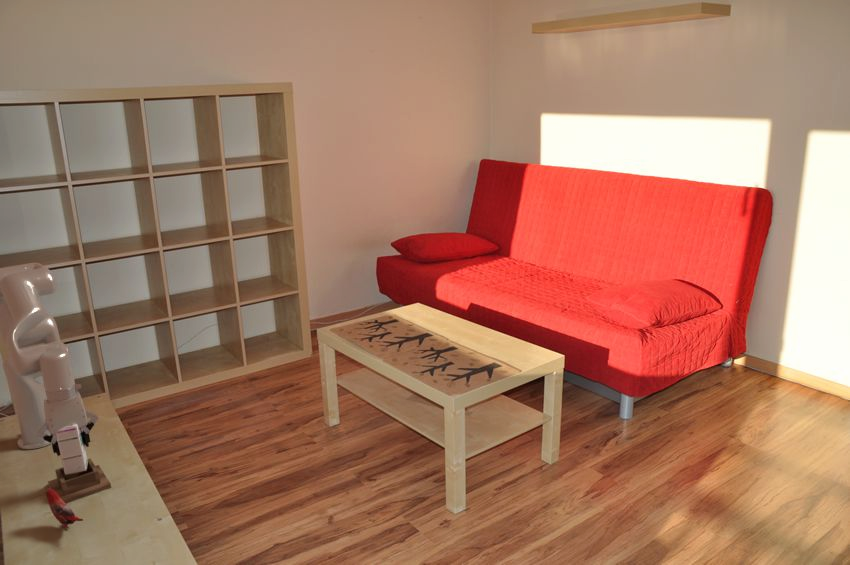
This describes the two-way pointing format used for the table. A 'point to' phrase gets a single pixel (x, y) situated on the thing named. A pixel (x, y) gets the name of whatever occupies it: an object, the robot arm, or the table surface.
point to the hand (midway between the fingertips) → (72, 449)
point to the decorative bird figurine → (61, 509)
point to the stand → (79, 483)
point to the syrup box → (72, 449)
